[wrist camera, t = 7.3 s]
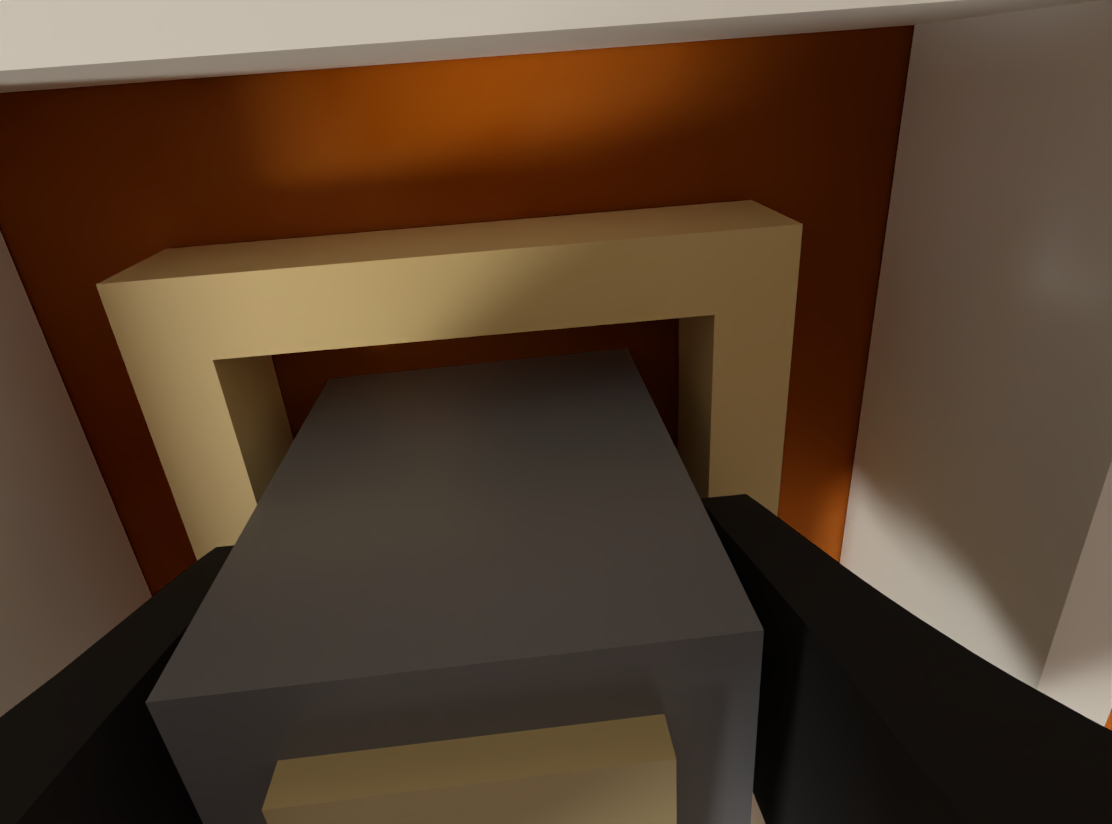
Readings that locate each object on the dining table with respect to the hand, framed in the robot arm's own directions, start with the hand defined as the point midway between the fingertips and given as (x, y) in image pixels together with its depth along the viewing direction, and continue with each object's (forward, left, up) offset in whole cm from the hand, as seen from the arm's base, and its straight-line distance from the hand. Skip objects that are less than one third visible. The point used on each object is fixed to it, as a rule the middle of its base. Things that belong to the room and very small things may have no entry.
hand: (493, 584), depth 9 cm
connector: (0, 0, -3) cm, 3 cm away
